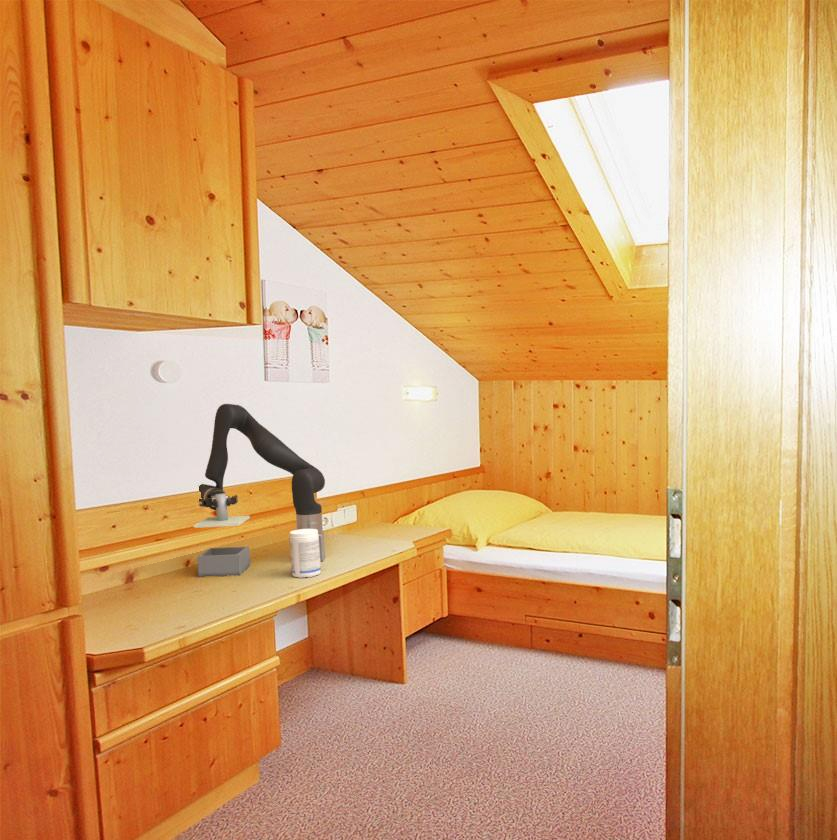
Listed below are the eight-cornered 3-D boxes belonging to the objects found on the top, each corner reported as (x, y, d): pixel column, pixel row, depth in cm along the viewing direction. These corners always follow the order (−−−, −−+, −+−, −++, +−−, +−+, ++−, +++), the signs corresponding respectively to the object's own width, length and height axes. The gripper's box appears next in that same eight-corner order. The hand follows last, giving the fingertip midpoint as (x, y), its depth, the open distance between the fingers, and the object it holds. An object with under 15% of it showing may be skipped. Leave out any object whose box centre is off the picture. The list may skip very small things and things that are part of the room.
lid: (249, 518, 256) (248, 490, 256) (238, 525, 241) (236, 495, 241) (207, 520, 256) (206, 492, 256) (194, 527, 241) (192, 498, 241)
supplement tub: (326, 572, 241) (324, 528, 241) (311, 579, 232) (309, 534, 232) (301, 570, 245) (299, 527, 245) (285, 577, 236) (283, 533, 236)
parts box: (250, 566, 256) (249, 546, 256) (239, 575, 242) (238, 554, 242) (211, 567, 256) (210, 548, 256) (198, 577, 242) (197, 556, 242)
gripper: (194, 490, 259) (200, 494, 243) (234, 486, 264) (243, 490, 249) (195, 511, 259) (202, 516, 243) (235, 506, 265) (244, 512, 249)
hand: (222, 503), depth 246 cm, fingers closed on lid, 3 cm apart
